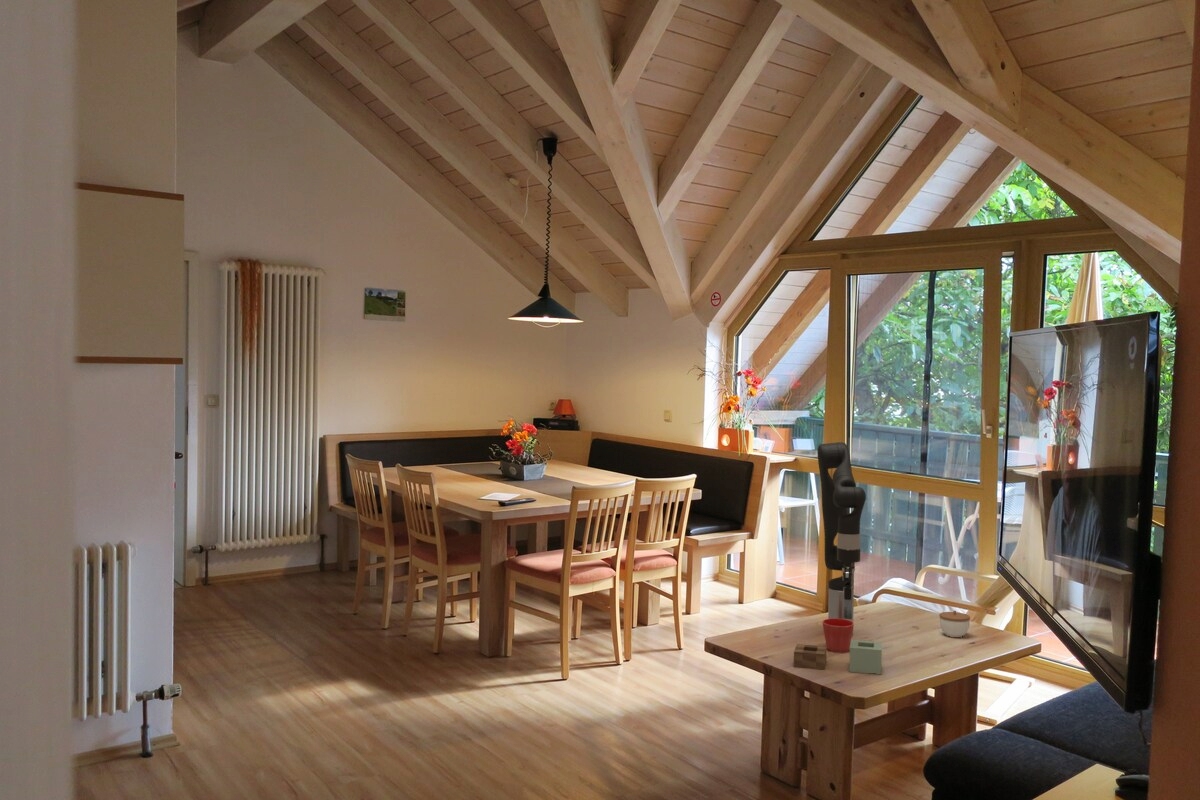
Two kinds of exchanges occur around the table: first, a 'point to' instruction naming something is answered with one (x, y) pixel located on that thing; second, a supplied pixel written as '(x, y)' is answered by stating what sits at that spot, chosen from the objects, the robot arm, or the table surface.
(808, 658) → the mount
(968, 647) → the table surface
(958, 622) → the lidded jar
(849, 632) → the flower pot
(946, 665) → the table surface
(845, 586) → the robot arm
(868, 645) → the block
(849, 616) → the pin
